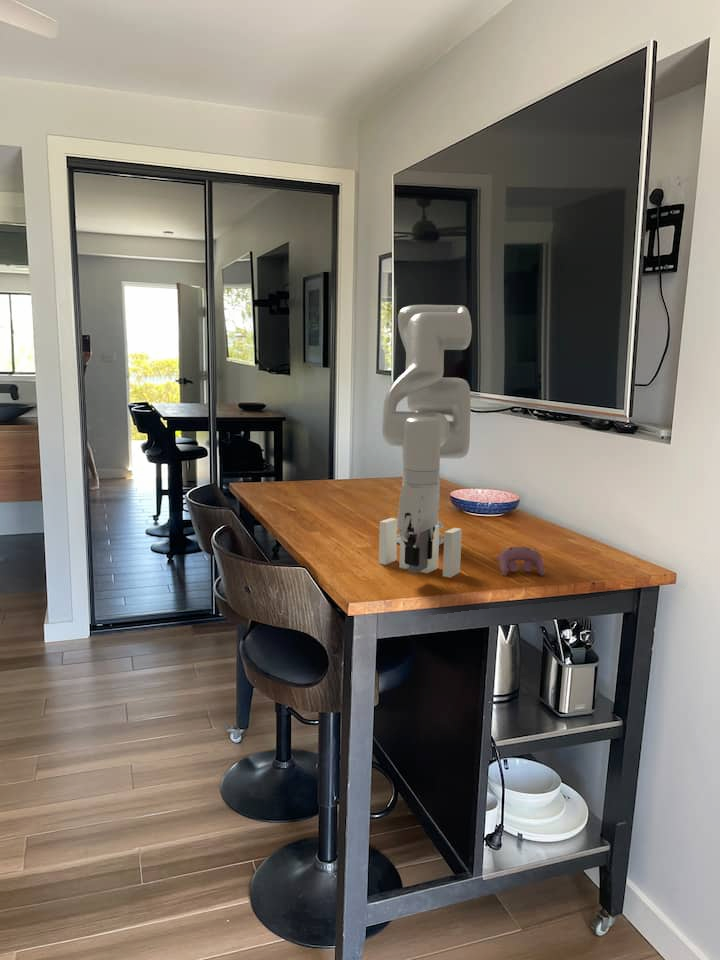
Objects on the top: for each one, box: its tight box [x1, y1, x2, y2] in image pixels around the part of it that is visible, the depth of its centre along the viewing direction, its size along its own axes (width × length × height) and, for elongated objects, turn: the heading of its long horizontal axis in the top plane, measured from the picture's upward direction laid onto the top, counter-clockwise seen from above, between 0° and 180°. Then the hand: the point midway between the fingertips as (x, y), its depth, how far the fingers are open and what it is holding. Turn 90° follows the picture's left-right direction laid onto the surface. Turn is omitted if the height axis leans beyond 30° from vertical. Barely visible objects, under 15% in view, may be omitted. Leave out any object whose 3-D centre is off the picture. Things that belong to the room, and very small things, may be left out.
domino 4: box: [420, 525, 440, 574], centre depth 162 cm, size 2×5×10 cm, turn 147°
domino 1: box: [378, 517, 398, 566], centre depth 167 cm, size 2×5×10 cm, turn 147°
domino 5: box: [442, 527, 463, 578], centre depth 159 cm, size 2×5×10 cm, turn 147°
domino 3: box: [408, 529, 429, 574], centre depth 151 cm, size 2×5×10 cm, turn 147°
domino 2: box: [399, 531, 409, 570], centre depth 164 cm, size 2×5×10 cm, turn 147°
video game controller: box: [498, 546, 545, 577], centre depth 161 cm, size 10×5×7 cm, turn 92°
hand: (418, 560), depth 152 cm, fingers closed on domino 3, 4 cm apart
